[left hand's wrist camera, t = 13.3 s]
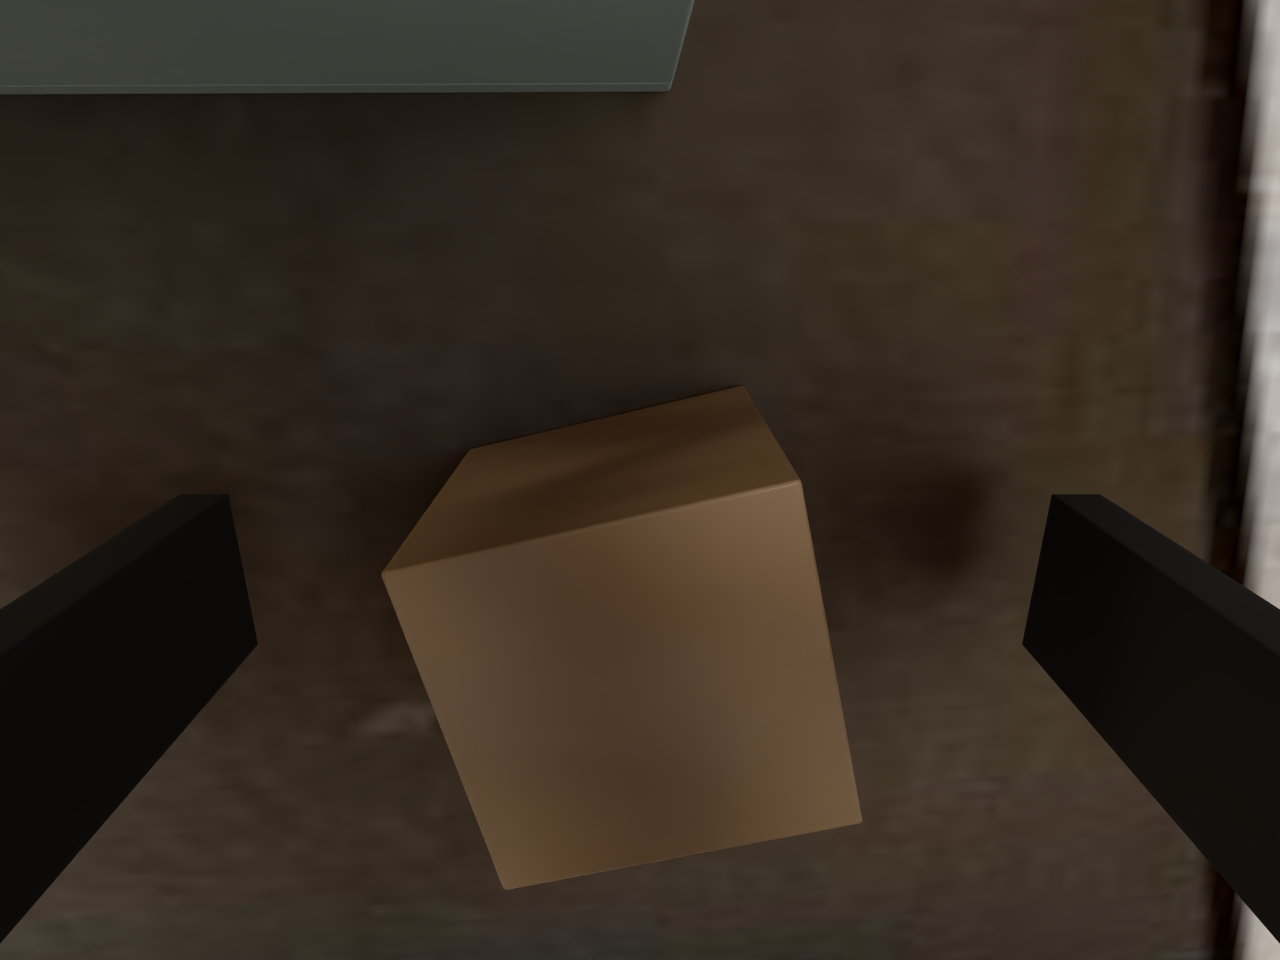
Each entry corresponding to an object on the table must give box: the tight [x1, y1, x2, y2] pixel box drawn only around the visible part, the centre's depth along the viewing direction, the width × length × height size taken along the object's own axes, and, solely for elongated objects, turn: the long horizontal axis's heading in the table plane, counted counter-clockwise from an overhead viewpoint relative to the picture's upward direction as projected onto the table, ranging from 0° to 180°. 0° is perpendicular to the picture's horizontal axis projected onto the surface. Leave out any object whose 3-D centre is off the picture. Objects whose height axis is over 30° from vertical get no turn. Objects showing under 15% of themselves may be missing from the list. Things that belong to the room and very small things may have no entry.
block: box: [382, 386, 862, 890], centre depth 12 cm, size 5×5×5 cm
